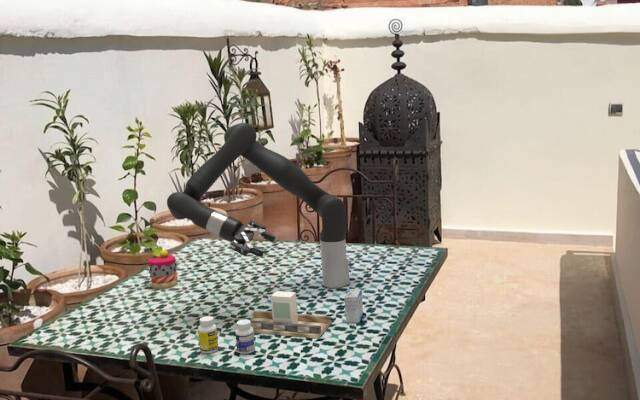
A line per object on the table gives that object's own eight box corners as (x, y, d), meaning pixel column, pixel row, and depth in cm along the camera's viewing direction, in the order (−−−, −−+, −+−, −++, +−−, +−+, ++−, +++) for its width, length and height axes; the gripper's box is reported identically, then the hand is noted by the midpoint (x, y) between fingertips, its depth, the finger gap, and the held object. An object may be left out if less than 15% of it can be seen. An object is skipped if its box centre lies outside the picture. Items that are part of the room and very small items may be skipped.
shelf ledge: (331, 323, 212) (331, 314, 212) (318, 338, 201) (317, 329, 201) (256, 317, 221) (256, 308, 221) (240, 331, 210) (239, 322, 210)
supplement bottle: (210, 355, 194) (207, 323, 192) (196, 352, 197) (192, 320, 195) (222, 348, 199) (219, 316, 197) (208, 345, 201) (205, 314, 200)
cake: (183, 281, 264) (179, 244, 261) (167, 290, 255) (162, 252, 252) (162, 279, 268) (158, 243, 266) (145, 288, 259) (140, 250, 256)
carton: (278, 321, 214) (276, 291, 212) (297, 322, 212) (295, 292, 210) (273, 326, 210) (270, 296, 208) (292, 328, 208) (290, 297, 206)
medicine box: (359, 323, 211) (358, 297, 209) (345, 323, 212) (344, 296, 210) (363, 314, 219) (361, 288, 217) (349, 313, 219) (348, 288, 218)
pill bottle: (237, 347, 198) (234, 319, 196) (255, 346, 199) (252, 317, 197) (236, 355, 193) (234, 326, 191) (255, 353, 193) (252, 324, 192)
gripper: (214, 229, 209) (261, 250, 206) (236, 206, 220) (280, 226, 217) (211, 247, 213) (256, 268, 211) (232, 223, 225) (275, 243, 222)
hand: (268, 246), depth 214 cm, fingers open, 8 cm apart
